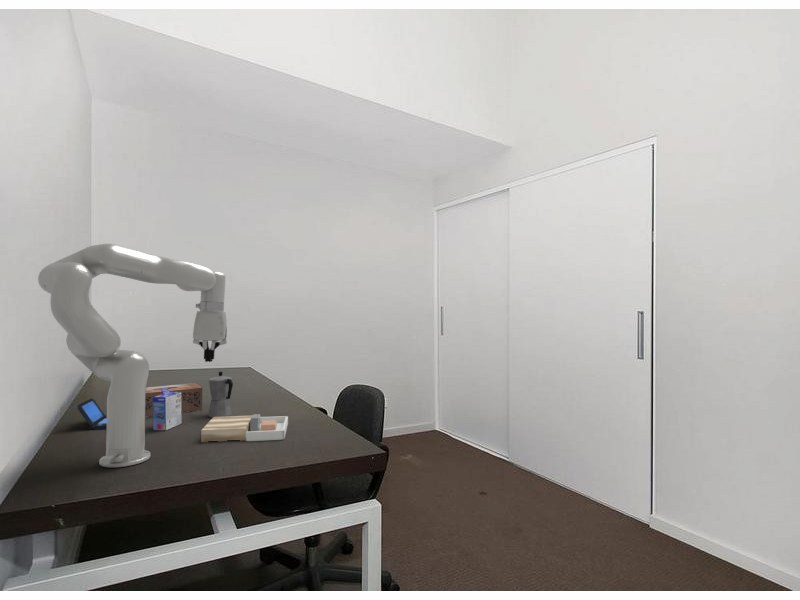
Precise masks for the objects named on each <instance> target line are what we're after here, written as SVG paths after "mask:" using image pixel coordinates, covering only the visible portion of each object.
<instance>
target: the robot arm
mask: <svg viewBox="0 0 800 600" xmlns="http://www.w3.org/2000/svg"><path fill="white" fill-rule="evenodd" d="M105 274H107V275H113V276H117V277H121V278H125V279H131V280H135V281H139V282H143V283H149V284H156V285H157V284H158V285H176V286H177V287H178V289H180V290H182V291H185V292H200V300H199V301H200V302H199V303H196V304H195V308H196V309H199V310H198V311H196V314H195V317H194V318H195V319H194V325H193V331H192V339H193V341H192V343H193V344H195V345H199V346H200V348H202V349H203V360H204V361H205V363H207V362H208V363H211V362H213V360H214V359H215V352H216V349H217V348H218V347H219V346H223V345H226V344H228V342H227V336H228V327H227V322H228V321H227V313H226V312H224V309H225V294H226V293H225V292H226V274H225V273H224V272H220V271H212V269H210V268H208V267H206V266H203V265H199V264H195V263H191V262H187V261H183V260H179V259H173V258H169V257H164V256H159V255H154V254H151V253H147V252H143V251H139V250H135V249H133V248H129V247H125V246H122V245H118V244H114V243H101V244H93V245H90V246H87V247H85V248H83V249H80V250H79V251H76V252H74V253H73V254H70V255H67V256H66V257H62V258H61V259H59V260H56V261H54V262H52V263H50V264H48V265H45V266H44V267H43V268H42V269H41V271H40V272H39V273H38V276H37V277H38V278H37V281H38V285H39V286H40V288H41V289H42V290H43V291H44V292H46V293H48V294H50V309H51V313H52V315H53V317H54V319H55V321H57V323H58V324H59V325H60V326H61V328H63V329H64V331H65V332H66V333H67V335H66V346H67V348H68V350H69V352H70V353H71V355H74V357H75V358H76V359H78V360H79V362H80V363H81V364H83V365H84V366H85V367H86V368H87V369H88V370H89V371H90V372H91V373H92V374H94V375H95V376H96V377H97V378H99V379H101V380H102V381H103V380H104V381H105V382H110V385H109V388H108V393H107V396H106V397H107V398H106V416H107V429H106V432H105V433H106V441H105V444H106V445H105V448H106V449H105V455H103V456H101V458H100V459H99V460H98V461H99V464H98V465H99V466H101V467H104V468H123V467H129V466H133V465H137V464H140V463H141V464H142V463H143V462H146V461H148V460H149V459H150V458H151V452H150V451H149V450H146V449H145V447H146V446H145V442H146V441H145V440H146V439H145V438H146V437H145V433H146V417H145V394H146V387H147V383H148V380H149V374H150V373H149V372H150V364H149V360H148V359H147V358H146V356H144V355H143V354H142V353H140V352H138V351H133V350H126V349H120V347H121V337H120V335H119V333H118V332H117V331H116V330H115V329H114V328H113V326H111V325H110V323H109V322H107V320H106V319H104V318H103V316H102V315H101V314H100V313H99V311H97V310H96V309H95V307H94V306H93V305H92V303H91V301H90V296H89V295H90V289H91V287H92V283H93V279H94V278H96V277H98V276H100V275H105ZM209 342H211V343H210V344H211V345H210V346H209Z"/></svg>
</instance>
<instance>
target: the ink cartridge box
mask: <svg viewBox="0 0 800 600" xmlns="http://www.w3.org/2000/svg"><path fill="white" fill-rule="evenodd" d="M165 389H166V390H167V391H165V392H164V391H163V390H165ZM161 391H162V393H163V394H161V395H158V396H155V397H153V418H152V419H153V420H152V422H153V425H152V427H153V428H152V429H153V431H164V430H165V431H168V430H170V429H172V428H174V427H177V426H179V425H181V424H182V413H181V392H169V390H168V388H167V387H165V388H161Z"/></svg>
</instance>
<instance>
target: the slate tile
mask: <svg viewBox="0 0 800 600" xmlns="http://www.w3.org/2000/svg"><path fill="white" fill-rule="evenodd" d="M251 416H252V417H251V431H259V429H260V417H261V413H260V414H259V413H254V414H251Z"/></svg>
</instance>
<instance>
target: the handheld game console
mask: <svg viewBox="0 0 800 600" xmlns="http://www.w3.org/2000/svg"><path fill="white" fill-rule="evenodd" d="M77 410H78V411H79V413H80V414H81V415H82V417H83V419H84V420H85V421H86V423H87V424H88V425H89V427H88V429H89V430H90V431H92V430H93V429H94V430H107V414H104V411H103V410H101V408H100V406H99V405H98V403H97V402H96V400H95V399H93V398H89V399H88V400H85V401H83V402H82V403H80V404H78V405H77Z"/></svg>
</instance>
